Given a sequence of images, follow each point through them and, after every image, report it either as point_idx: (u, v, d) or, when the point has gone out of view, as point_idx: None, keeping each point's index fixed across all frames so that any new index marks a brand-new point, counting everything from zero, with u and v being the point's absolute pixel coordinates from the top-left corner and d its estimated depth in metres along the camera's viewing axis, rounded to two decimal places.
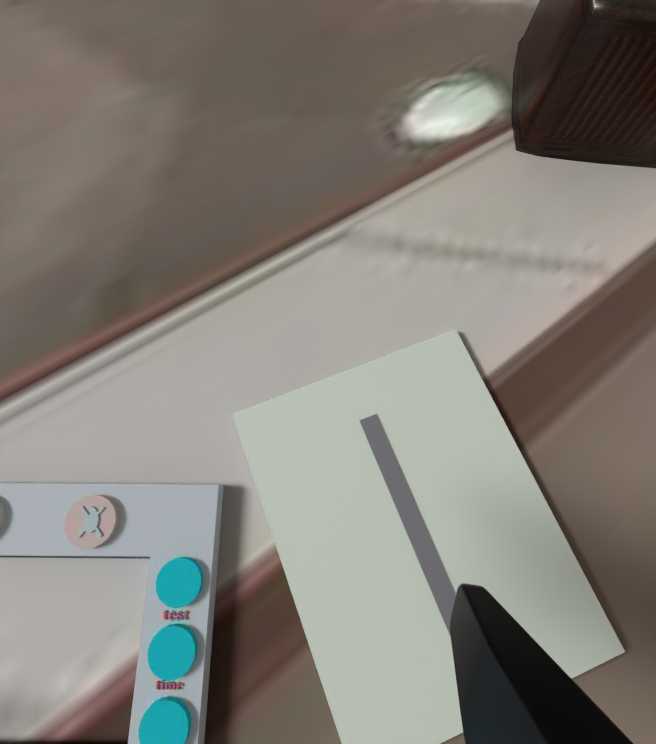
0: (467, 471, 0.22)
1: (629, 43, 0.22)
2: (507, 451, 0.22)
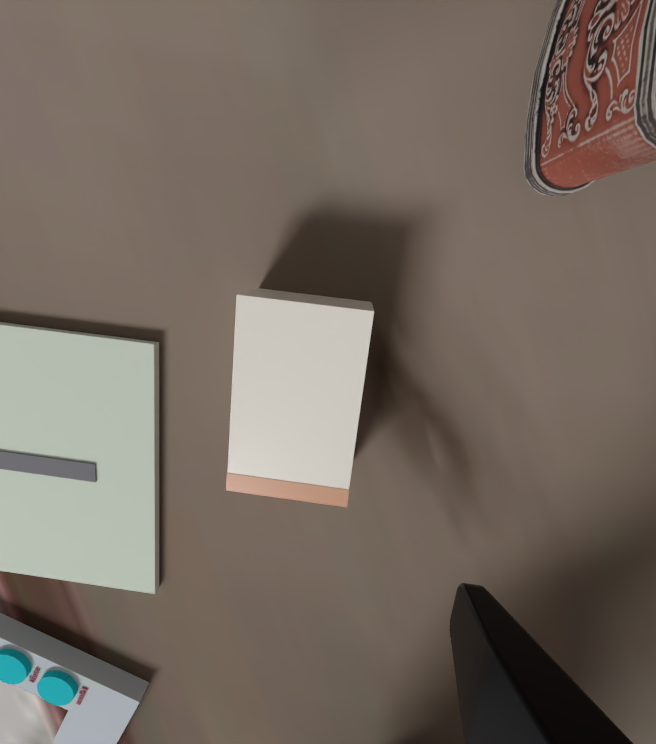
0: None
1: None
2: None
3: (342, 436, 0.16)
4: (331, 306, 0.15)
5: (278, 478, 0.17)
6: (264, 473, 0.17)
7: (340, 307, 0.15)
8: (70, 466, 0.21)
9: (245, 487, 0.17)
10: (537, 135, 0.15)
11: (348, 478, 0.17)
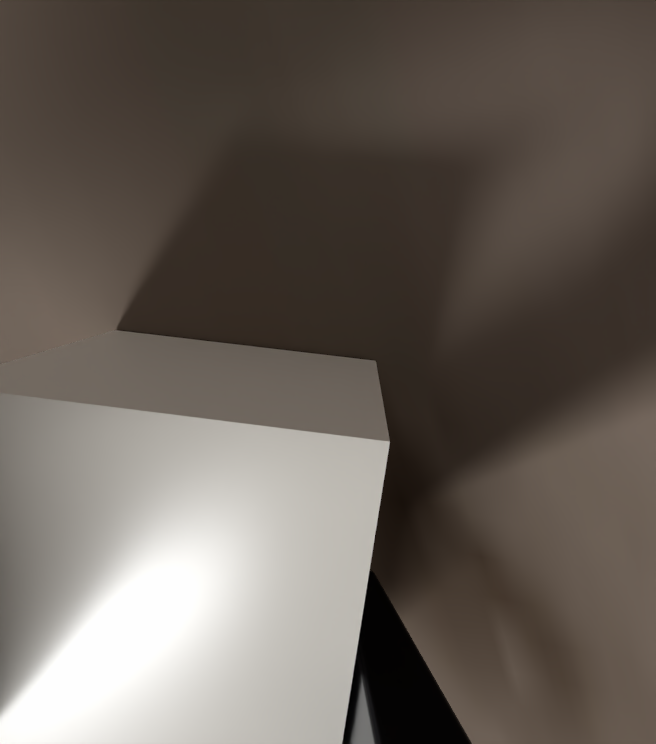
0: None
1: None
2: None
3: None
4: (245, 423, 0.04)
5: None
6: None
7: (276, 426, 0.04)
8: None
9: None
10: None
11: None
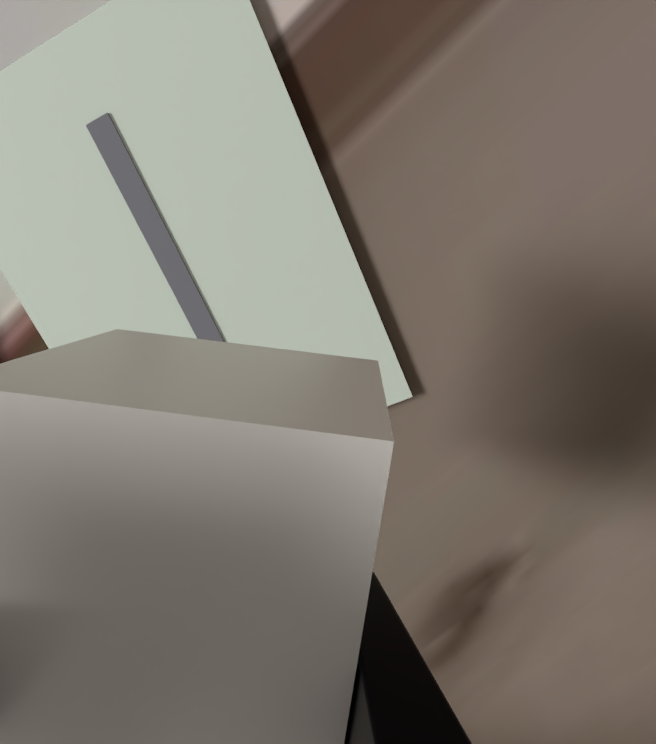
0: (242, 195, 0.16)
1: None
2: (297, 162, 0.16)
3: None
4: (249, 423, 0.04)
5: None
6: None
7: (279, 426, 0.04)
8: None
9: None
10: None
11: None
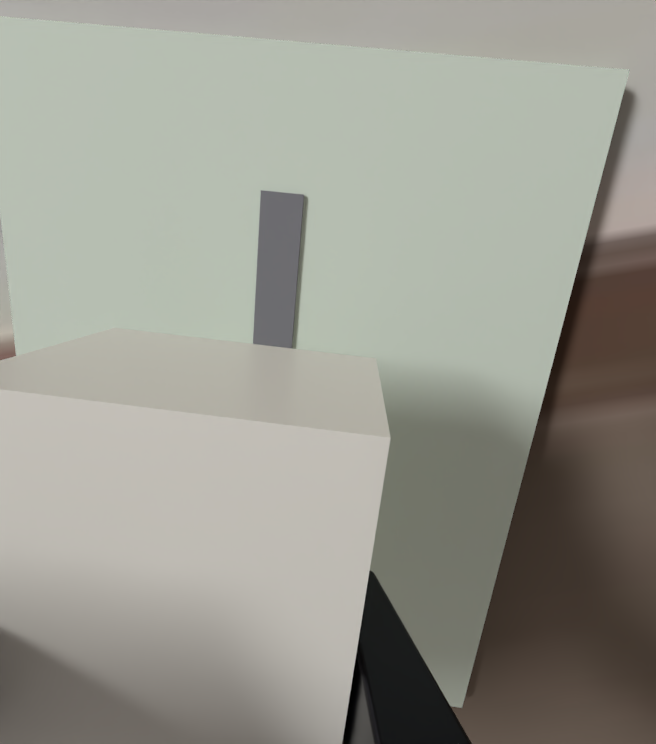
0: (416, 401, 0.11)
1: None
2: (513, 407, 0.11)
3: None
4: (245, 419, 0.04)
5: None
6: None
7: (276, 422, 0.04)
8: None
9: None
10: None
11: None
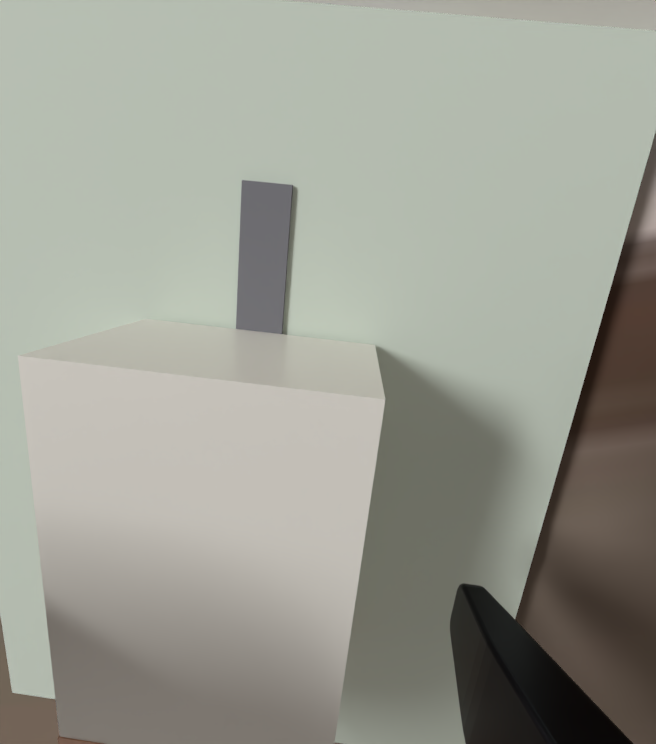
0: (424, 426, 0.09)
1: None
2: (537, 433, 0.09)
3: (310, 679, 0.07)
4: (269, 386, 0.05)
5: None
6: (139, 741, 0.07)
7: (294, 388, 0.05)
8: None
9: None
10: None
11: None
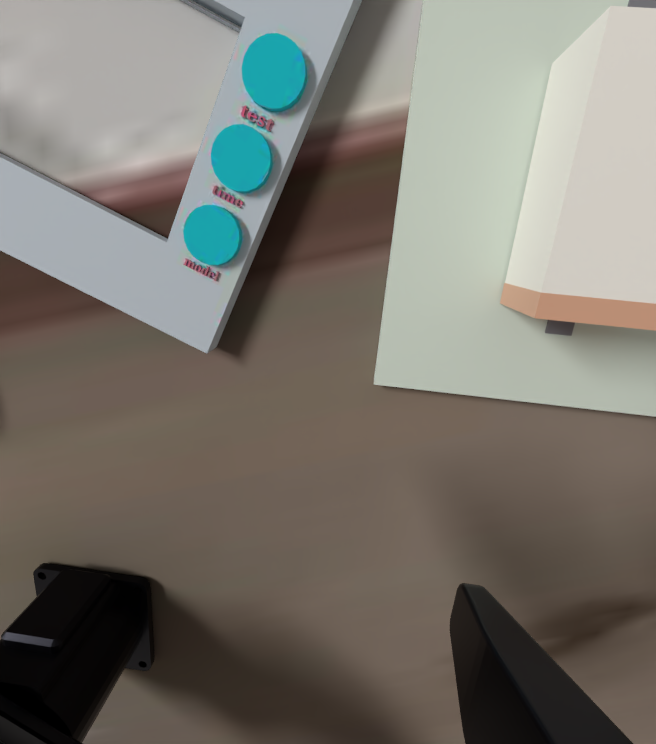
0: None
1: None
2: None
3: None
4: None
5: (613, 297, 0.12)
6: (594, 290, 0.12)
7: None
8: None
9: (562, 312, 0.13)
10: None
11: None
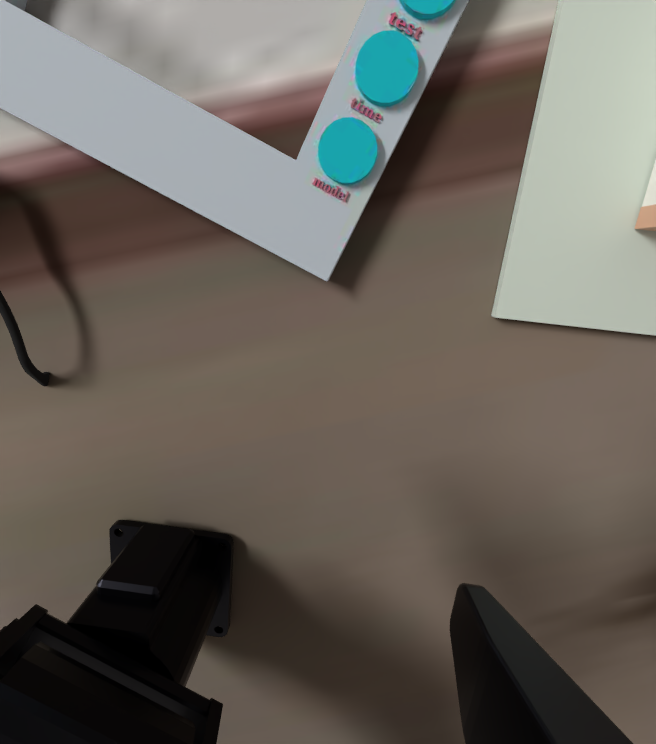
0: None
1: None
2: None
3: None
4: None
5: None
6: None
7: None
8: None
9: None
10: None
11: None
